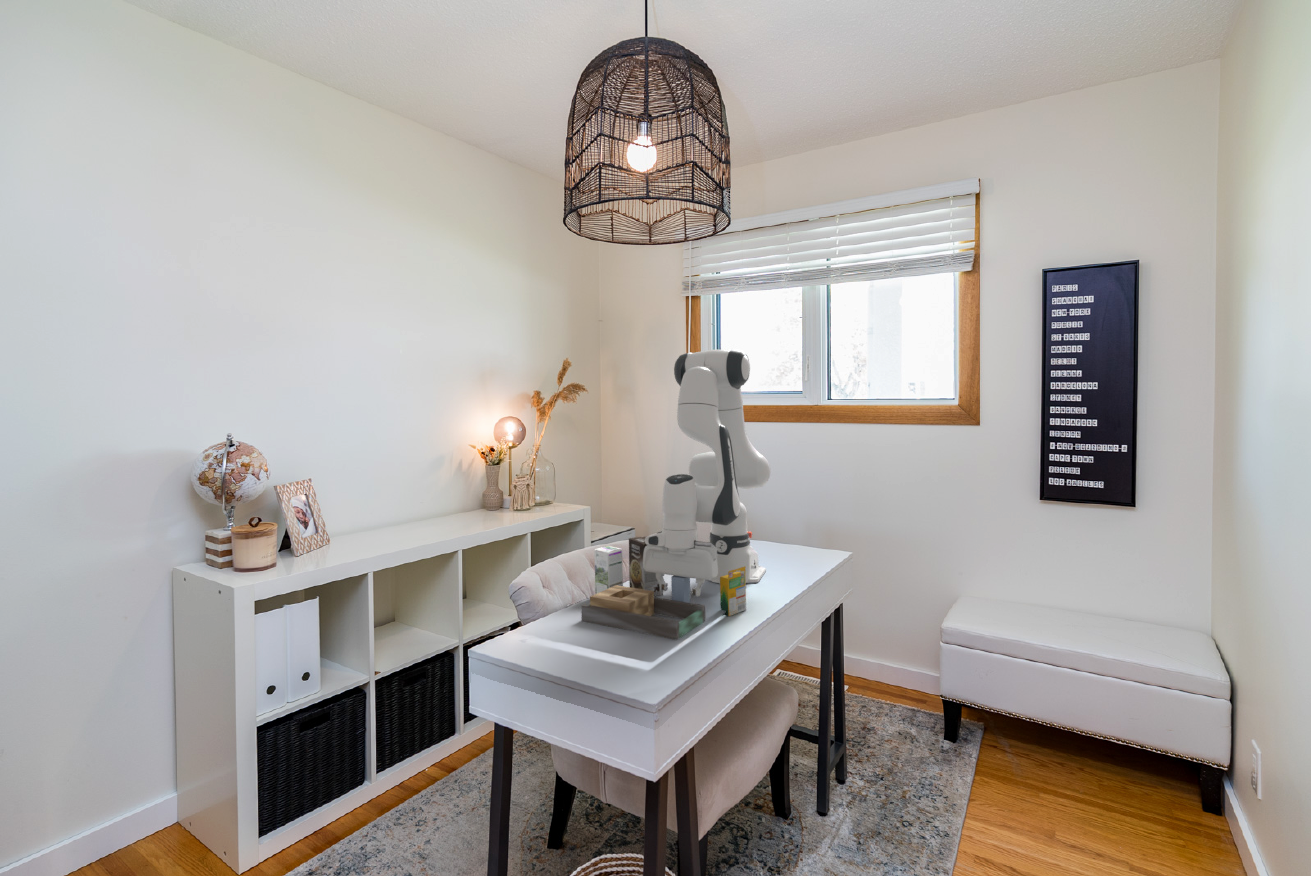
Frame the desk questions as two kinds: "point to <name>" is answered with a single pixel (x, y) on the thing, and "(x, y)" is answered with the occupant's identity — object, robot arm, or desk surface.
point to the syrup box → (608, 568)
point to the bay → (650, 618)
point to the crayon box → (733, 592)
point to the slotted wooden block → (625, 600)
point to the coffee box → (641, 568)
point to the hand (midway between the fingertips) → (679, 592)
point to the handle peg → (680, 588)
